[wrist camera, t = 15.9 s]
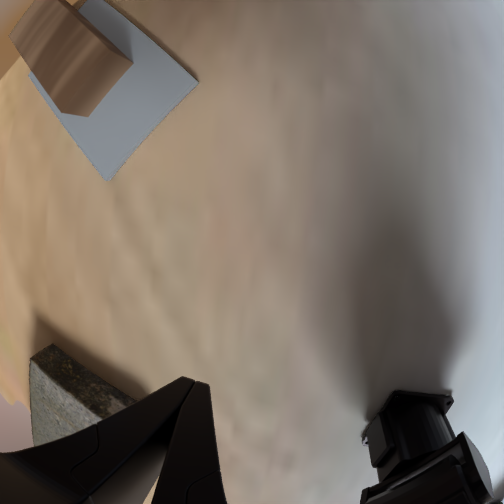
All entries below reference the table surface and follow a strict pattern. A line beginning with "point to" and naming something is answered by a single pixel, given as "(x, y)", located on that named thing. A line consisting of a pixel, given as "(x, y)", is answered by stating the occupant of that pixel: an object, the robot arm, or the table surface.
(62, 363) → the stone block
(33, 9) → the walnut slab
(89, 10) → the mat
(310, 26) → the table surface
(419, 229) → the table surface
